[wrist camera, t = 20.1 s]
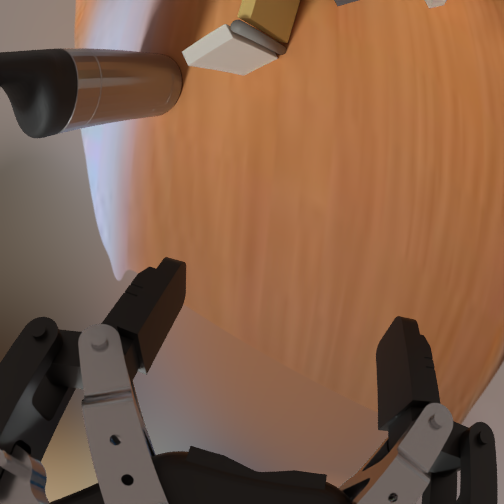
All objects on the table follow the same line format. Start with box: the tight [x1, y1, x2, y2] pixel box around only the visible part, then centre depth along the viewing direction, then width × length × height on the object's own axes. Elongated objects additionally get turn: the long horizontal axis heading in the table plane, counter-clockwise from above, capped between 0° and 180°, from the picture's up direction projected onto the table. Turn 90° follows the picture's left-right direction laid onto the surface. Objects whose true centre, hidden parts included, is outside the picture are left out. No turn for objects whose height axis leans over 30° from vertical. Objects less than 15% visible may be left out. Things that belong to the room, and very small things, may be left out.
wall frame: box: [182, 0, 447, 75], centre depth 21 cm, size 26×2×12 cm, turn 115°
